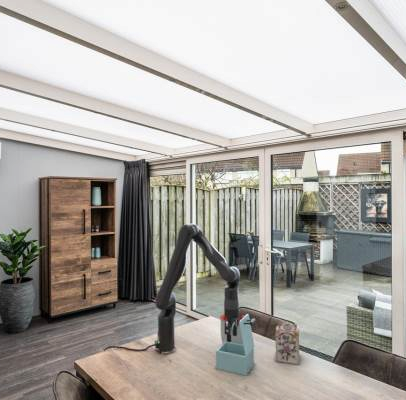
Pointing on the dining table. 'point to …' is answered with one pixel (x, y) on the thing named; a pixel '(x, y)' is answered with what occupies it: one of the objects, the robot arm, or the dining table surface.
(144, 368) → the dining table surface
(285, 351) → the decorative jar
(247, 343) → the freezer lid
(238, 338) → the citrus juicer
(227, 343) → the box
